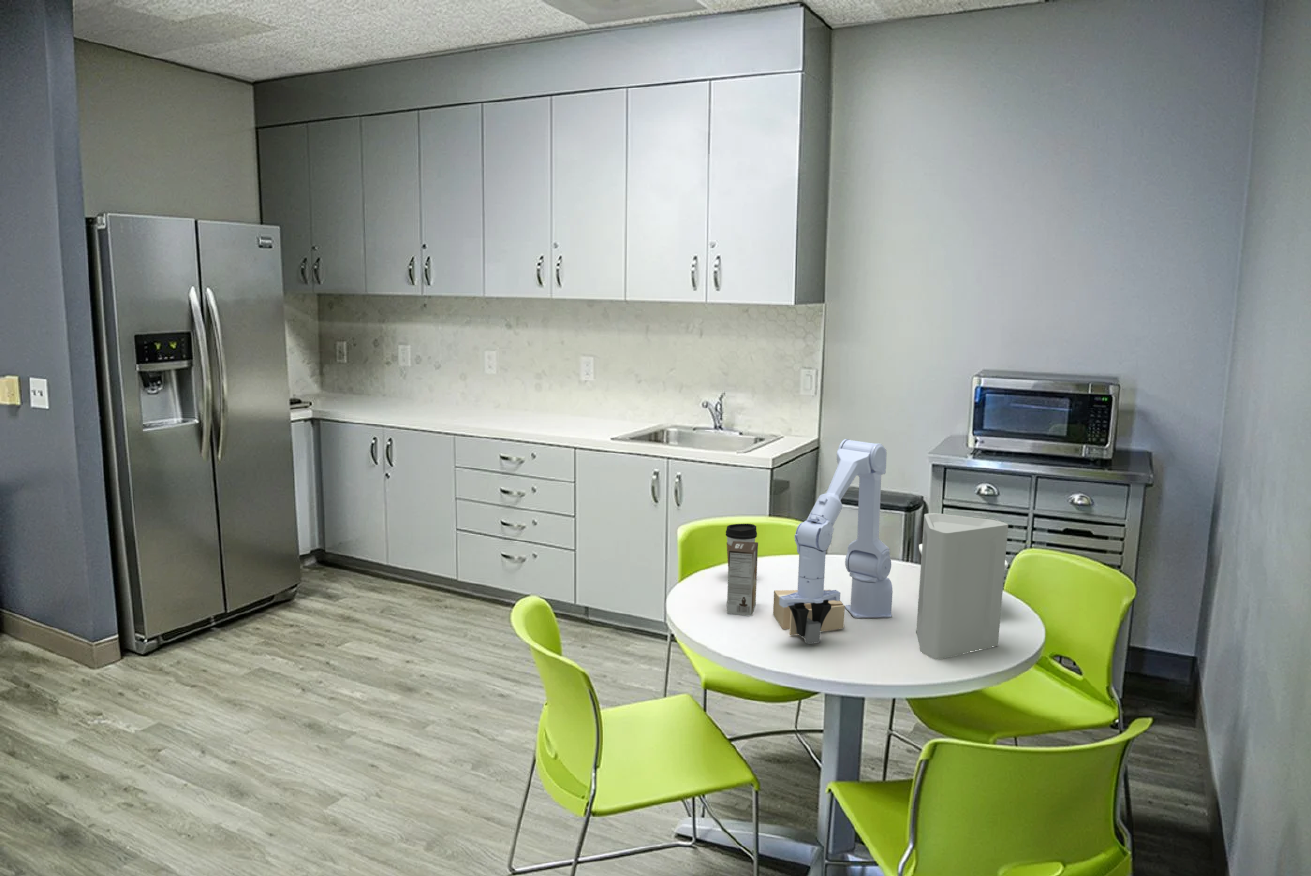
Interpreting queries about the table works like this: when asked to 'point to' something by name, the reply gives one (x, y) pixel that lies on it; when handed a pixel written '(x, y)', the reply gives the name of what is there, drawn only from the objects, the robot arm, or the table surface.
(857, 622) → the table surface
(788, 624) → the carton
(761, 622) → the table surface
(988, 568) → the grey triangular prism
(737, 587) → the coffee box
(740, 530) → the coffee cup
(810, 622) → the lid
